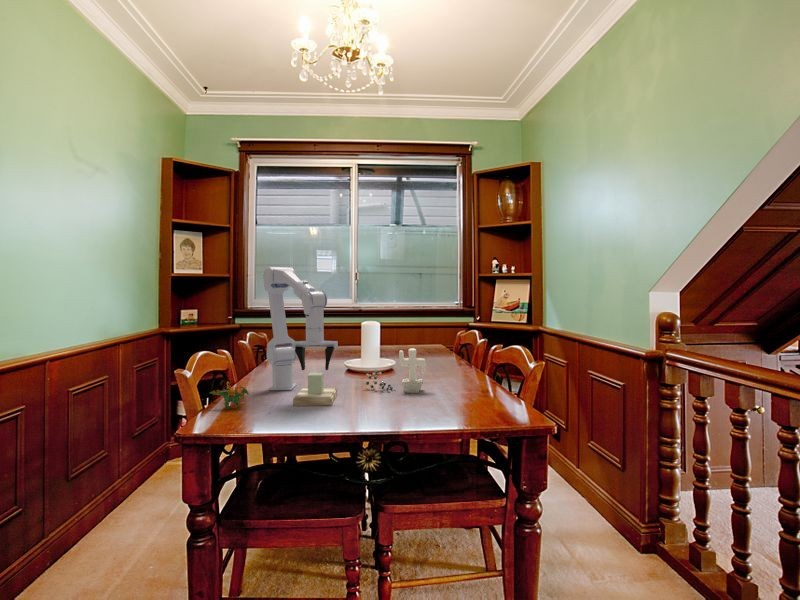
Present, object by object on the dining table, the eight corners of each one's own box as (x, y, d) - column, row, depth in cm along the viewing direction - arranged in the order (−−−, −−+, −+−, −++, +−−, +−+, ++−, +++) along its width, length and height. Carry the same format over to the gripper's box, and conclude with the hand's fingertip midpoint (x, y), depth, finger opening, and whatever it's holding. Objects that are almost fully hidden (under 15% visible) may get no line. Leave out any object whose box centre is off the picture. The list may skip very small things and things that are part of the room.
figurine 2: (426, 393, 156) (426, 350, 155) (398, 393, 156) (398, 350, 156) (425, 388, 163) (425, 347, 162) (399, 388, 163) (399, 347, 163)
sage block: (310, 390, 150) (310, 372, 150) (323, 390, 150) (323, 372, 150) (307, 394, 145) (307, 375, 145) (321, 394, 145) (321, 375, 145)
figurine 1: (247, 409, 137) (246, 382, 137) (207, 409, 137) (207, 382, 137) (250, 406, 140) (250, 380, 140) (211, 406, 140) (211, 380, 140)
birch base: (302, 394, 155) (301, 387, 155) (337, 394, 155) (337, 387, 155) (293, 405, 141) (292, 397, 141) (331, 405, 141) (331, 397, 141)
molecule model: (388, 400, 156) (398, 378, 157) (359, 385, 159) (368, 365, 160) (392, 401, 162) (401, 380, 163) (363, 387, 165) (373, 367, 166)
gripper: (289, 329, 143) (290, 372, 144) (335, 329, 143) (335, 371, 144) (294, 327, 150) (294, 368, 151) (338, 327, 151) (338, 367, 151)
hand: (315, 369), depth 148 cm, fingers open, 7 cm apart
